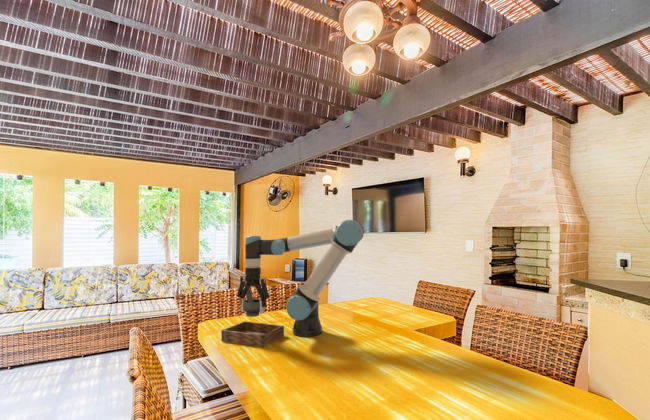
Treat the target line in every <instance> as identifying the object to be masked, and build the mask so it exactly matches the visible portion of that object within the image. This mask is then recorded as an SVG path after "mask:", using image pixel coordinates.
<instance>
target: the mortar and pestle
mask: <svg viewBox="0 0 650 420" xmlns="http://www.w3.org/2000/svg"><path fill="white" fill-rule="evenodd" d="M245 297H246V300H244V301H243V308H244V310H245V312H246V317H248V318H249V317H250V318H255V317H259V316H260V300H261V298H260V299H259V298H253V294H252V291H251V288H249V290H247V292H246V296H245Z"/></svg>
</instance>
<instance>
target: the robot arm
mask: <svg viewBox="0 0 650 420" xmlns="http://www.w3.org/2000/svg"><path fill="white" fill-rule="evenodd" d="M364 234H365V230H364V227H363V225H362V224H361V223H360V222H358V221H357V220H354V219H346V220H343V221H342V222H339V224H338V225H336V226H334V227H333V228H328V229H323V230H319V231H314V232H309V233H304V234H298V235H293V236H289V237H283V238H278V239H262V237H261V236H260V235H247V236H245V241H244V242H245V243H244V248H245V249H244V253H245V259H244V260H245V261H244V266H245V268H244V271H245V273H244V275H245V276H242V277H240V282H239V286H238V290H237V293H236V294H237V295H236V296H237V297H239V298H240V305H241V313H245V312H246V311H245V310H244V308H243V301H244V300H247V296H246V292H247V290H249V289H251V287H254V288H255V289H256V291H257V294H258V295H259V297H260V299H261V300H260V311H259V315H262V314H265V307H266V305H267V304H266V301H267V300H268V299H270V295H269V290H268V287H267V278H262V277H261V273H262V271H261V270H262V269H261V263H262V262H261V261H262V260H261V259H262V257H261V256H282V255H284V254H285V253H289V252H293V251H300V250H305V249H309V248H310V249H311V248H317V247H322V246H327V245H329V247H328V249H327V250H326V251H325V253H324V255H322V257H321V258H320V260H319V262H318V263H317V265H316V266H315V268H314V269H313V270H312V272H311V273H310V275H309V277H308V278H307V280H306V281H305V282H304V283H303V284H300V285H299V286H298V287H296V288H295V291H294V293H293V294H292V296H290V297H289V298H288V300H287V302H286V305H285V309H286V313H287V315H288V316H289V317H290V318H291V319H293V320H294V323H293V326H292V335H295V336H298V337H314V336H319V335H321V334H322V333H323V326H322V324H321V319H320V318H319V317H320V316H319V313H320V311H319V301H320V294H321V293H322V291H323V289H324V288H325V287H326V285H327V284H328V282H329V281H330V279H331V278H332V276H333V275H334V274H335V272H336V270H337V269H338V267H339V266H340V264H341V263H342V262H343V260H344V259H345V257H346V255H348V254H352V253H353V251H354V249H355V248H356V247H357V245H358V244H359V243H360V242H361V240H363V238H364Z"/></svg>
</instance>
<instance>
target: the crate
mask: <svg viewBox="0 0 650 420" xmlns="http://www.w3.org/2000/svg"><path fill="white" fill-rule="evenodd" d="M220 336H221V339H220V340H221V342H226V343H233V344H239V345H246V346H253V347H259V348H264V347H266V346H268V345H270V344H272V343H273V342H276V341H277V340H279V339H282V338H283V337H284V336H285V326H284V325H280V324H279V325H278V324H270V323H263V322H254V321H242V322H240V323H236V324H234V325H231V326H229V327H226V328H223V329H222V330H221V335H220ZM275 340H276V341H275Z"/></svg>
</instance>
